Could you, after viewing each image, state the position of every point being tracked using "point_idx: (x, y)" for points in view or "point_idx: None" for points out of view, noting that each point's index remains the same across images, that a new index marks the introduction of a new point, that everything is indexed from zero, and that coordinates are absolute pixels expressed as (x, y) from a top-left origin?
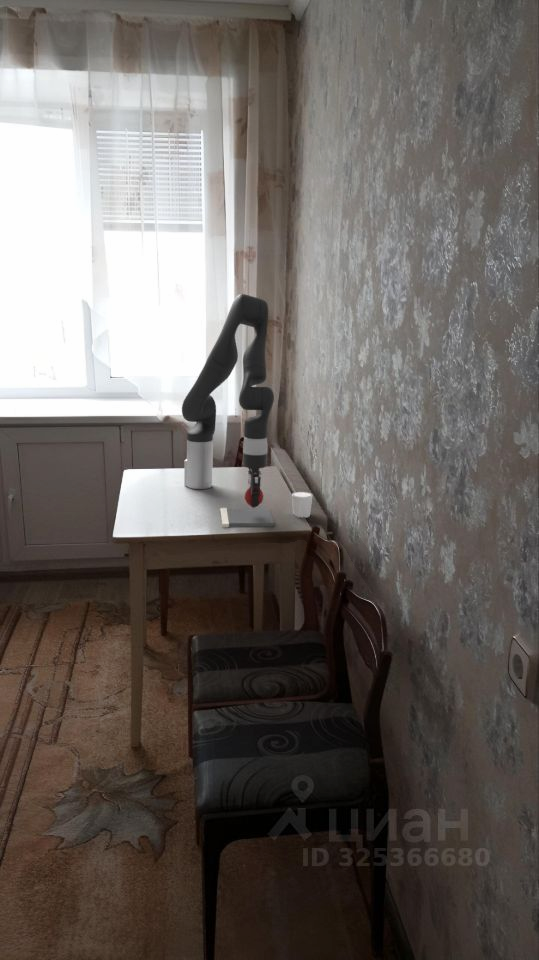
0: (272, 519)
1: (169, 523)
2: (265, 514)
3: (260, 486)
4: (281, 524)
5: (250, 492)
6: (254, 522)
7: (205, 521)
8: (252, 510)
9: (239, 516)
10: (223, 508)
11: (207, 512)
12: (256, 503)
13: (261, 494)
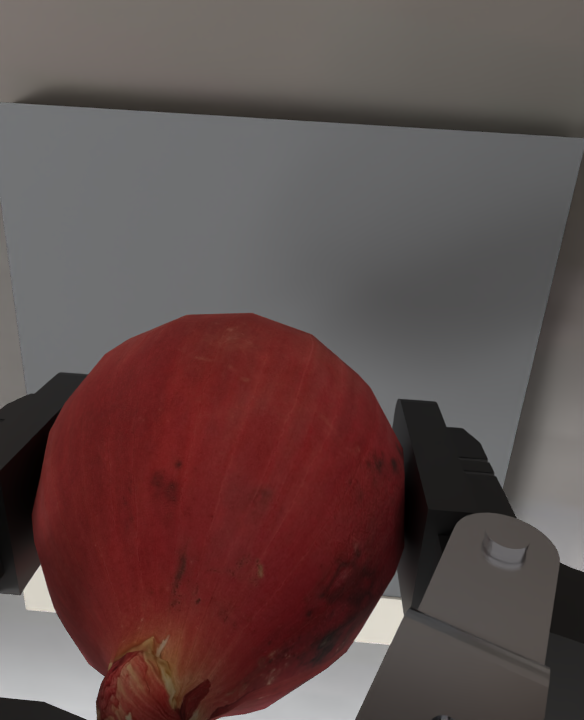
0: (435, 136)
1: None
2: (220, 198)
3: (548, 668)
4: (522, 15)
5: (338, 658)
6: (509, 378)
7: (315, 708)
8: (68, 331)
9: None
10: (40, 589)
11: (85, 670)
12: (478, 458)
13: (335, 414)
